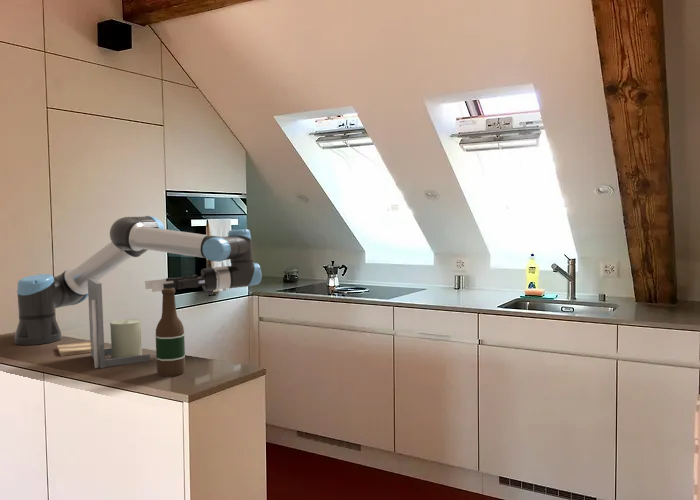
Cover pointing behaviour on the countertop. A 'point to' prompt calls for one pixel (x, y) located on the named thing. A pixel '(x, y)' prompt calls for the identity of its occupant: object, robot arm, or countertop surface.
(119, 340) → the can
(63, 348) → the oak pad
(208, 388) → the countertop surface
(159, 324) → the beer bottle
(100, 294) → the grey l-shaped stand
